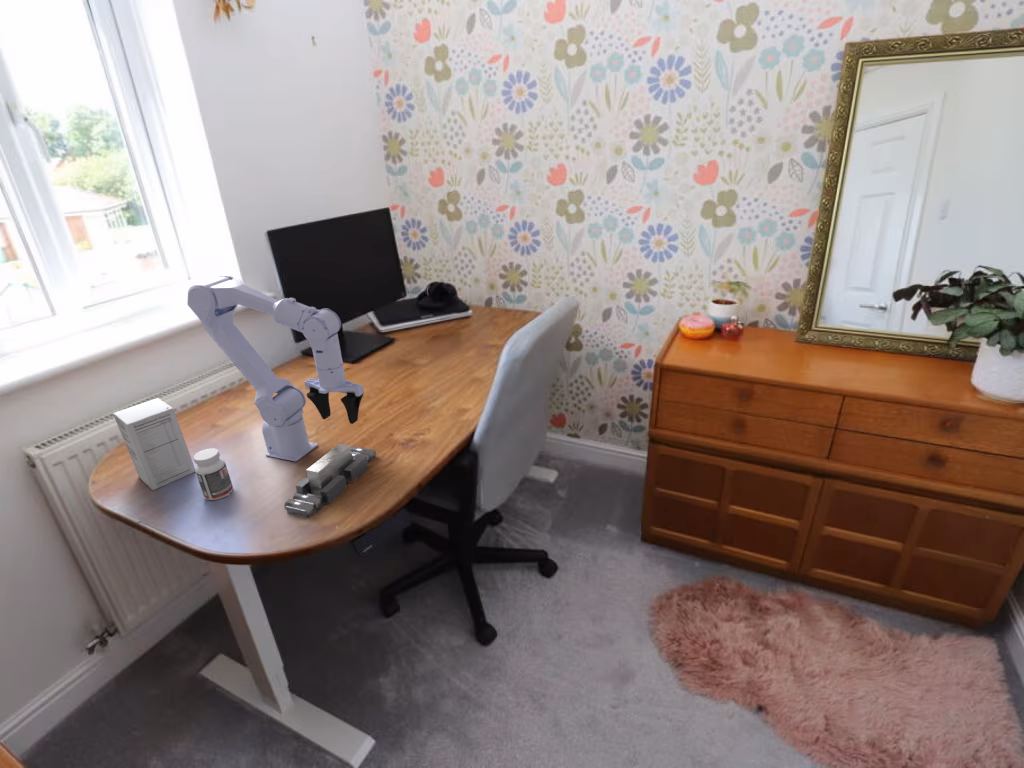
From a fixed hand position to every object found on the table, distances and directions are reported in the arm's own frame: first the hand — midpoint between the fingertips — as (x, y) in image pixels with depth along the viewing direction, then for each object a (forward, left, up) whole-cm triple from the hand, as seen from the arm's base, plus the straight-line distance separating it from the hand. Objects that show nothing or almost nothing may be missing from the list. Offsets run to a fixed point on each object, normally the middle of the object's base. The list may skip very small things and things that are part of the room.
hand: (340, 419), depth 122 cm
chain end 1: (+4, -17, -10) cm, 20 cm away
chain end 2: (+4, -4, -10) cm, 11 cm away
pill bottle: (-18, -21, -10) cm, 29 cm away
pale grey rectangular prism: (+4, -10, -9) cm, 14 cm away
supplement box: (-36, -19, -10) cm, 42 cm away
